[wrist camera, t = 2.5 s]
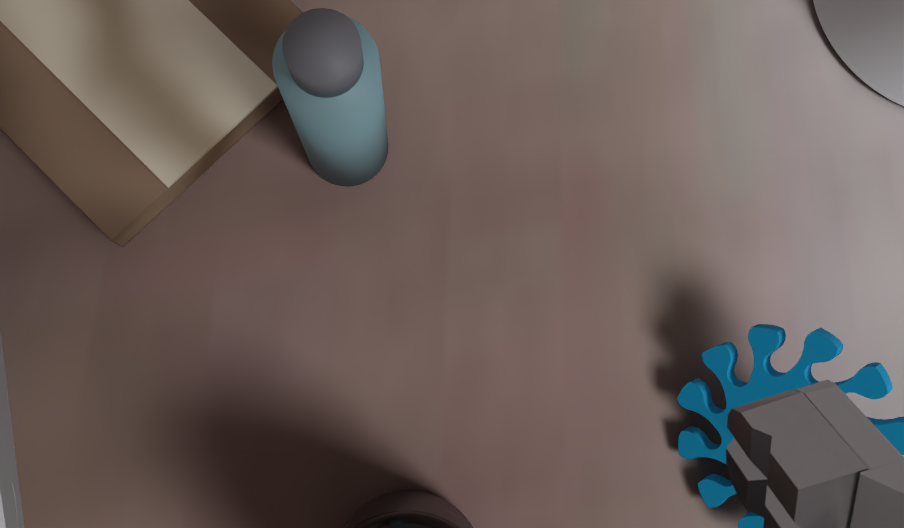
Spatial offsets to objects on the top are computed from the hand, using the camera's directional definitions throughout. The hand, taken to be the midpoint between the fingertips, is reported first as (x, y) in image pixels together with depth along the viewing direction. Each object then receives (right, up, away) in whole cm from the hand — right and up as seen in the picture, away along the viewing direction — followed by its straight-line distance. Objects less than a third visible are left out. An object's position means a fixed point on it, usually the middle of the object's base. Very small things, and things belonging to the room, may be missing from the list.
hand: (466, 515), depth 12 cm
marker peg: (-5, +9, +29) cm, 31 cm away
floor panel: (-16, +14, +29) cm, 36 cm away
